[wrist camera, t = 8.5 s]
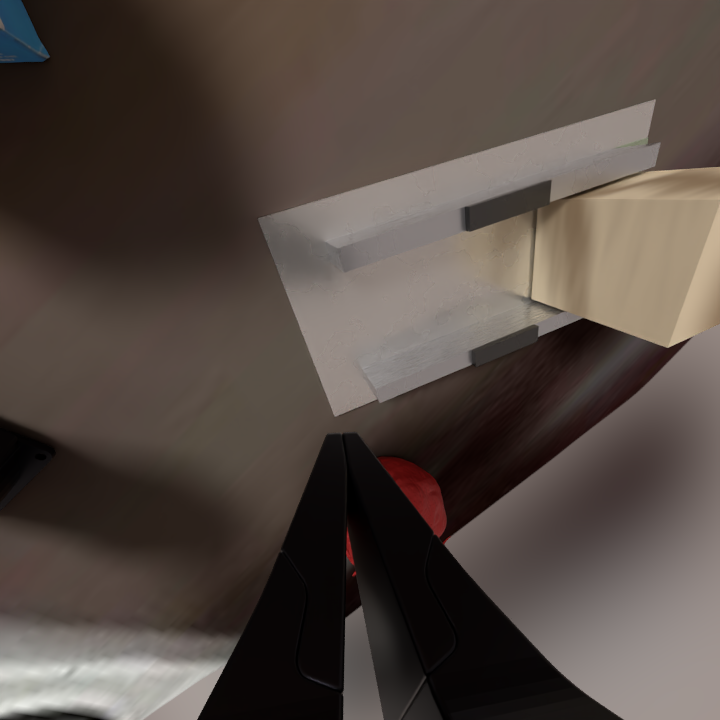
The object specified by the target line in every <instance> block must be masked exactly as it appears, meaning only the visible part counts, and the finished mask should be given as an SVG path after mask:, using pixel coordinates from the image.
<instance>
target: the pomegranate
mask: <svg viewBox="0 0 720 720" xmlns="http://www.w3.org/2000/svg"><path fill="white" fill-rule="evenodd" d="M377 459H378V460H379V461H380V463H381V464H382V465H383V466H384V468H385V469H386V470H387V472H388V473H389V474H390V475H391V477H392V478H393V479H394V481H395V482H396V483H397V485H398V486H399V487H400V488H401V490H402V491H403V492H404V494H405V495H406V496H407V497H408V499H409V500H410V501H411V503H412V504H413V505H414V507H415V508H416V509H417V510H418V512H419V513H420V514H421V516H422V517H423V518H424V519H425V521H426V522H427V523H428V525H429V526H430V527H431V529H432V530H433V531H434V535H437V536H438V537H440V536H441V535H442V533H443V532H444V530H445V527H446V513H445V509H444V505H443V499H442V495H441V491H440V487H439V485H438V484H437V482H436V480H435V479H434V478H433V477H432V476H431V475H430V474H429V473H427V472H426V471H425V470H423V469H422V468H421V467H419V466H417V465H415V464H414V463H412V462H409V461H407V460H404V459H401V458H396V457H383V456H382V457H377ZM434 535H433V536H434ZM450 537H451V536H450ZM450 537H448V538H447V539H446V540H445V541H444V542H443V544H445V542H446V541H447V540H448V539H449V538H450ZM346 555H347V557H348V559H349V561H350V562H351V563H352V564H353V565H354V560H353V555H352V550H351V545H350V539H349V534H348V529H347V551H346ZM354 575H356V571H355V572H354V574H353V576H354Z"/></svg>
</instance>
